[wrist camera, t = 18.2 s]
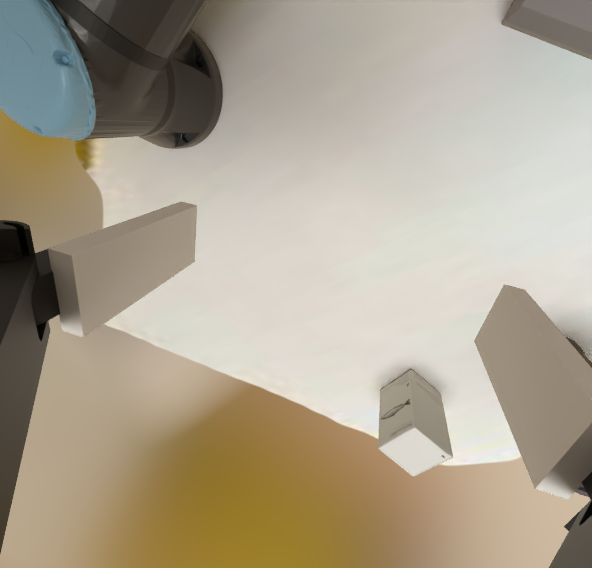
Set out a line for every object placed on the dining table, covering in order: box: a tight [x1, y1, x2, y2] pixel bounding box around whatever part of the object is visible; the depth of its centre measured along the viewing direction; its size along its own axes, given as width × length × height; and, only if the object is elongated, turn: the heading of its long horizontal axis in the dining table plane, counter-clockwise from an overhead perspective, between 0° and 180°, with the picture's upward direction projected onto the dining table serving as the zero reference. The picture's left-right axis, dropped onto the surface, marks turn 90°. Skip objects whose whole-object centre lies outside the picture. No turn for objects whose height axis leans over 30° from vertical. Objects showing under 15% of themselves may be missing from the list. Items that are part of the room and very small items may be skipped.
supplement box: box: [378, 369, 453, 476], centre depth 52 cm, size 7×7×13 cm
